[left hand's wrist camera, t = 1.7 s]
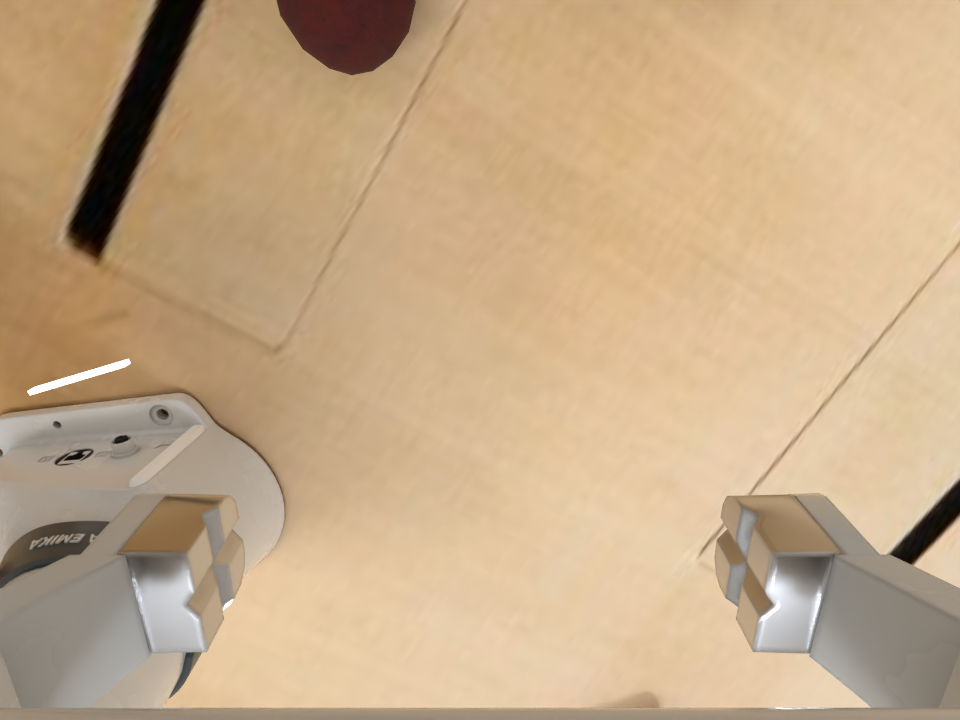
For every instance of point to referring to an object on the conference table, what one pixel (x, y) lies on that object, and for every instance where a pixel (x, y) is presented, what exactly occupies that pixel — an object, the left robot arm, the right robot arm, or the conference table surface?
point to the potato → (348, 30)
